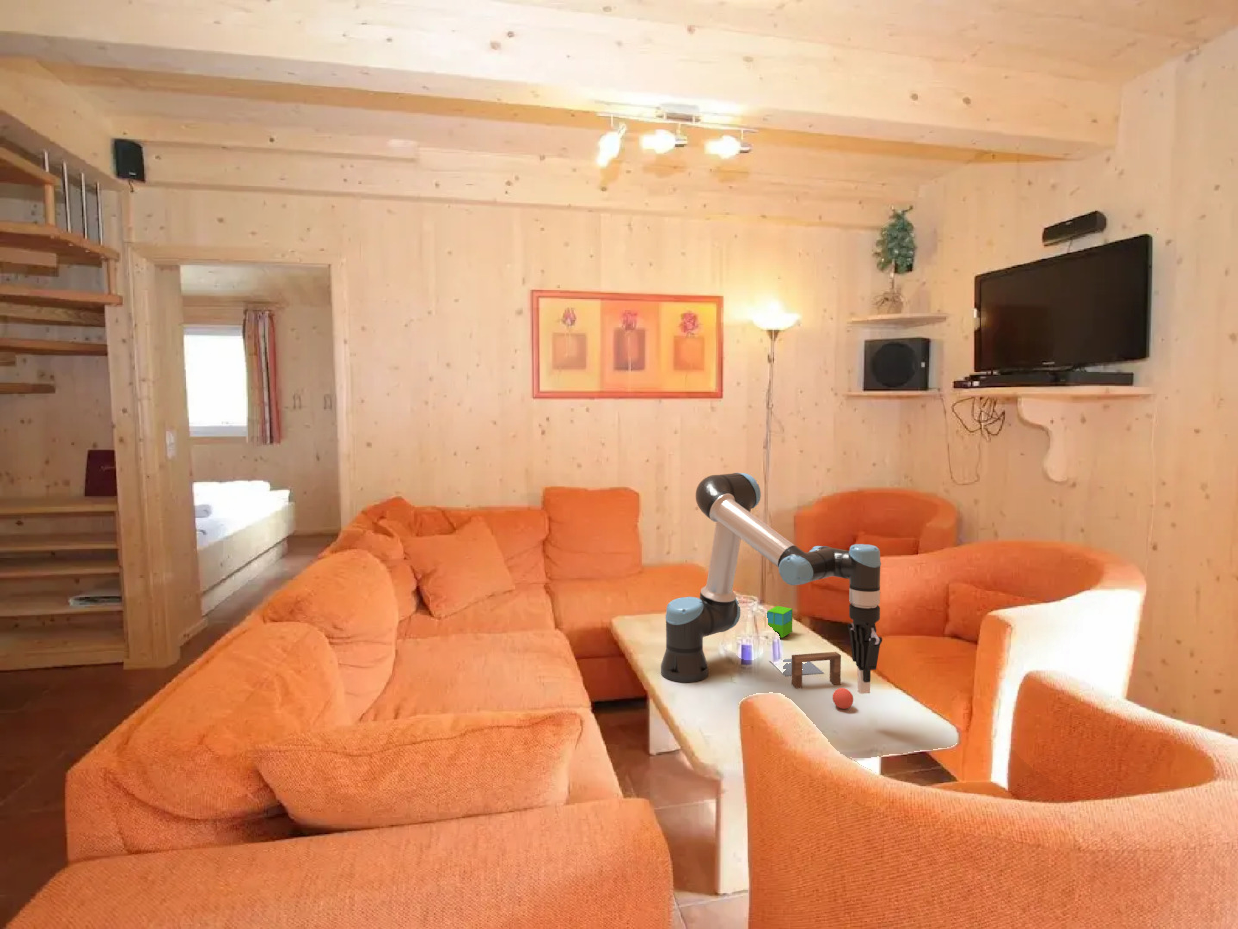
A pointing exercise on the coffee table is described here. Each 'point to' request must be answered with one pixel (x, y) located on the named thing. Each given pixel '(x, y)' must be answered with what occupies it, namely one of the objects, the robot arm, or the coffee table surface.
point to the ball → (842, 698)
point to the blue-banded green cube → (780, 620)
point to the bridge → (832, 656)
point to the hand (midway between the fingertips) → (863, 692)
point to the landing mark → (807, 668)
